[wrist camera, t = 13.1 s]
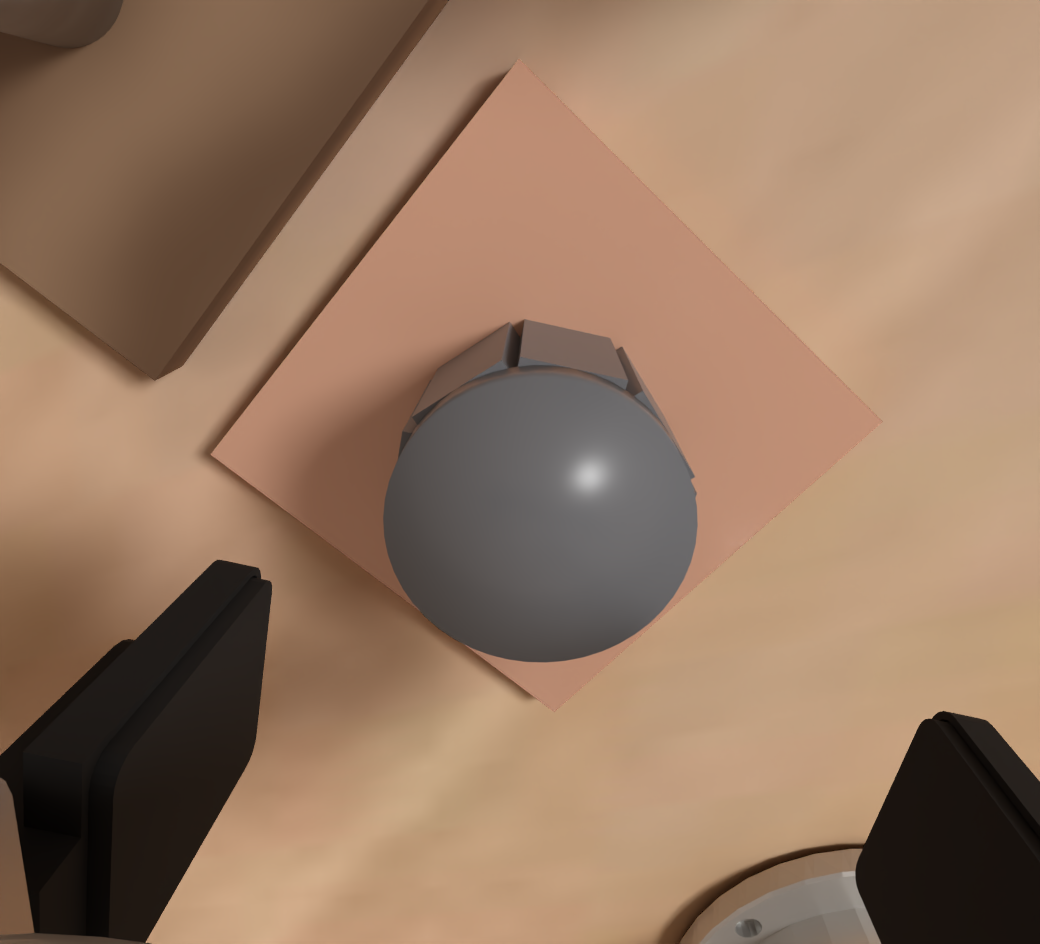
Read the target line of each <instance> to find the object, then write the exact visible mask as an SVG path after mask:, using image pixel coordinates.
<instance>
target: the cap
mask: <svg viewBox="0 0 1040 944" xmlns="http://www.w3.org/2000/svg"><path fill="white" fill-rule="evenodd" d="M694 477H695V475H694V473H693V472H692V470H691V468H690V466H689V464H688V462H687V460H686V458H685V456H684V454H683V452H682V450H681V448H680V446H679V444H678V442H677V440H676V438H675V436H674V434H673V432H672V430H671V428H670V426H669V424H668V422H667V420H666V419H665V417H664V415H663V413H662V412H661V410H660V408H659V407H658V405H657V403H656V402H655V400H654V398H653V397H652V395H651V393H650V392H649V390H648V388H647V387H646V385H645V383H644V382H643V380H642V378H641V377H640V375H639V373H638V372H637V370H636V368H635V367H634V365H633V364H632V362H631V360H630V359H629V357H628V355H627V354H626V352H625V350H624V349H623V347H620V348H619V349H617V350H615V348H614V345H613V343H612V341H611V338H608V337H604V336H599V335H594V334H590V333H585V332H581V331H576V330H572V329H567V328H563V327H558V326H554V325H549V324H544V323H540V322H535V321H531V320H526V319H525V320H524V324H523V329H522V333H521V338H520V337H519V335H518V334H517V332H516V330H515V329H514V327H513V326H512V324H511V323H510V322H509V323H507V324H506V325H504V326H503V327H501V328H499V329H498V330H496V331H495V332H493V333H492V334H490V335H489V336H487V337H486V338H484V339H482V340H481V341H479V342H478V343H476V344H475V345H473V346H472V347H470V348H469V349H467V350H465V351H464V352H462V353H461V354H459V355H458V356H456V357H455V358H453V359H452V360H450V361H448V362H447V363H445V364H444V365H442V366H441V367H439V368H438V369H437V371H436V373H435V375H434V377H433V379H432V380H430V381H429V383H428V385H427V387H426V389H425V391H424V392H423V394H422V396H421V398H420V400H419V402H418V403H417V405H416V407H415V409H414V411H413V413H412V414H411V416H410V418H409V420H408V422H407V424H406V425H405V427H404V429H403V431H402V436H401V442H400V448H399V454H398V461H397V463H396V465H395V467H394V470H393V472H392V475H391V477H390V480H389V484H388V488H387V492H386V496H385V502H384V514H383V525H384V538H385V543H386V548H387V553H388V556H389V559H390V562H391V565H392V568H393V571H394V573H395V575H396V577H397V579H398V581H399V583H400V585H401V586H402V588H403V590H404V591H405V593H406V594H407V596H408V597H409V598H410V600H411V601H412V603H413V604H414V605H415V606H416V607H417V608H418V609H419V611H420V612H421V613H422V614H423V615H424V616H425V617H426V618H427V619H428V620H429V621H431V622H432V623H433V624H434V625H435V626H436V627H438V628H439V629H440V630H441V631H443V632H444V633H446V634H447V635H449V636H450V637H452V638H453V639H455V640H457V641H459V642H461V643H463V644H465V645H467V646H469V647H470V648H473V649H475V650H478V651H481V652H483V653H486V654H489V655H492V656H496V657H500V658H504V659H508V660H516V661H523V662H544V663H546V662H558V661H567V660H572V659H577V658H583V657H586V656H589V655H592V654H596V653H599V652H602V651H604V650H606V649H609V648H611V647H613V646H615V645H618V644H620V643H621V642H623V641H625V640H626V639H628V638H630V637H631V636H633V635H635V634H636V633H637V632H639V631H640V630H641V629H643V628H644V627H645V626H646V625H648V624H649V623H650V622H651V621H652V620H653V619H654V618H655V617H656V616H657V615H658V614H659V613H660V612H661V611H662V610H663V609H664V608H665V607H666V605H667V604H668V603H669V602H670V600H671V599H672V598H673V596H674V595H675V593H676V592H677V590H678V588H679V587H680V585H681V583H682V582H683V580H684V578H685V575H686V573H687V571H688V568H689V566H690V563H691V560H692V556H693V552H694V549H695V545H696V536H697V527H698V521H697V504H696V499H695V498H696V495H697V492H696V490H695V488H694V486H693V484H692V482H691V479H693V478H694Z"/></svg>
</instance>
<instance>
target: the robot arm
mask: <svg viewBox="0 0 1040 944" xmlns="http://www.w3.org/2000/svg"><path fill="white" fill-rule="evenodd" d="M271 595H272V584H271V582H270V581H268V580H263V579H261V573H260V570H259V568H256V567H252V566H247V565H242V564H237V563H233V562H228V561H223V560H216V561H215V562H213V563H212V564H211V565H210V566H209V567H208V568H207V569H206V570H205V571H204V572H203V573H202V574H201V575H200V576H199V577H198V578H197V579H196V580H195V581H194V582H193V583H192V584H191V585H190V586H189V587H188V588H187V589H186V590H185V591H184V592H183V593H182V594H181V595H180V596H179V597H178V598H177V599H176V600H175V601H174V602H173V603H172V604H171V605H170V606H169V607H168V608H167V609H166V610H165V611H164V612H163V613H162V614H161V615H160V616H159V617H158V618H157V619H156V620H155V621H154V622H153V623H152V624H151V625H150V626H149V627H148V628H147V629H146V630H145V631H144V632H143V633H142V634H141V635H140V636H139V637H138V638H137V639H136V640H131V639H128V640H123V641H121V642H120V643H118V644H117V645H115V646H114V647H113V648H112V649H111V650H110V651H109V652H108V653H107V654H106V655H105V656H103V657H102V658H101V659H100V660H99V661H98V662H97V663H96V664H95V665H94V666H93V667H92V668H91V669H90V670H89V671H88V672H87V673H86V674H85V675H84V676H83V677H82V678H81V679H80V680H78V681H77V682H76V683H75V684H74V685H73V686H72V687H71V688H70V689H69V690H68V691H67V692H66V693H65V694H64V695H63V696H62V697H61V698H60V699H59V700H58V701H57V702H56V703H55V704H53V705H52V706H51V707H50V708H49V709H48V710H47V711H46V712H45V713H44V714H43V715H42V716H41V717H40V718H39V719H38V720H37V721H36V722H35V723H34V724H33V725H32V726H31V727H29V728H28V729H27V730H26V731H25V732H24V733H23V734H22V735H21V736H20V737H19V738H18V739H17V740H16V741H15V742H14V743H13V744H12V745H11V746H10V747H9V748H8V749H7V750H6V751H4V752H3V753H2V754H1V755H0V944H150V943H145V942H146V940H147V939H148V937H149V935H150V933H151V932H152V930H153V928H154V926H155V925H156V923H157V921H158V919H159V918H160V916H161V914H162V913H163V911H164V909H165V907H166V906H167V904H168V902H169V900H170V899H171V897H172V895H173V893H174V892H175V890H176V888H177V886H178V885H179V883H180V881H181V879H182V878H183V876H184V874H185V872H186V871H187V869H188V867H189V865H190V864H191V862H192V860H193V859H194V857H195V855H196V853H197V852H198V850H199V848H200V846H201V845H202V843H203V841H204V839H205V838H206V836H207V834H208V832H209V831H210V829H211V827H212V825H213V824H214V822H215V820H216V818H217V817H218V815H219V813H220V811H221V810H222V808H223V806H224V805H225V803H226V801H227V799H228V798H229V796H230V794H231V792H232V791H233V789H234V787H235V785H236V784H237V782H238V780H239V778H240V777H241V775H242V773H243V771H244V770H245V768H246V766H247V764H248V762H249V760H250V757H251V755H252V752H253V749H254V745H255V740H256V734H257V724H258V715H259V706H260V697H261V687H262V678H263V669H264V660H265V650H266V641H267V632H268V623H269V613H270V604H271ZM680 944H1040V781H1039V780H1038V779H1037V778H1036V777H1035V775H1034V774H1033V773H1032V772H1031V771H1030V770H1029V768H1028V767H1027V766H1026V765H1025V764H1024V762H1023V761H1022V760H1021V759H1020V758H1019V757H1018V755H1017V754H1016V753H1015V752H1014V751H1013V749H1012V748H1011V747H1010V746H1009V745H1008V744H1007V742H1006V741H1005V740H1004V739H1003V738H1002V736H1001V735H1000V734H999V733H998V732H997V731H996V729H995V728H994V727H993V726H992V725H991V724H990V723H989V722H988V721H986V720H983V719H979V718H974V717H969V716H965V715H960V714H955V713H950V712H946V711H943V712H938V713H937V714H936V715H935V716H933V718H932V719H925V720H924V721H923V722H922V723H921V724H920V726H919V727H918V729H917V731H916V734H915V736H914V738H913V740H912V742H911V745H910V747H909V749H908V751H907V753H906V755H905V758H904V760H903V762H902V764H901V766H900V769H899V771H898V773H897V775H896V777H895V780H894V782H893V784H892V786H891V788H890V790H889V793H888V795H887V797H886V799H885V801H884V804H883V806H882V808H881V810H880V812H879V814H878V817H877V819H876V821H875V823H874V825H873V828H872V830H871V832H870V834H869V836H868V838H867V841H866V843H865V845H864V847H863V849H845V850H838V851H831V852H824V853H817V854H812V855H808V856H805V857H801V858H798V859H794V860H791V861H788V862H784V863H781V864H778V865H776V866H773V867H771V868H769V869H767V870H764V871H762V872H760V873H758V874H756V875H753V876H751V877H749V878H747V879H745V880H744V881H742V882H741V883H739V884H738V885H736V886H735V887H733V888H732V889H730V890H729V891H727V892H725V893H724V894H722V895H721V896H720V897H719V898H717V899H716V900H715V901H714V902H713V903H712V904H711V905H710V906H709V907H708V908H707V909H706V910H705V911H704V912H702V913H701V914H700V915H699V916H698V917H697V918H696V920H695V921H694V923H693V924H692V925H691V927H690V928H689V930H688V931H687V932H686V934H685V935H684V937H683V938H682V939H681V942H680Z"/></svg>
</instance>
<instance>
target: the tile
mask: <svg viewBox="0 0 1040 944" xmlns="http://www.w3.org/2000/svg"><path fill="white" fill-rule="evenodd" d="M525 319H526V320H531V321H535V322H540V323H544V324H549V325H554V326H558V327H563V328H567V329H572V330H576V331H581V332H585V333H590V334H594V335H599V336H604V337H608V338H611V341H612V343H613V345H614V348H615V350H617V349H619V348H620V347H623V349H624V350H625V352H626V354H627V355H628V357H629V359H630V360H631V362H632V364H633V365H634V367H635V368H636V370H637V372H638V373H639V375H640V377H641V378H642V380H643V382H644V383H645V385H646V387H647V388H648V390H649V392H650V393H651V395H652V397H653V398H654V400H655V402H656V403H657V405H658V407H659V408H660V410H661V412H662V413H663V415H664V417H665V419H666V420H667V422H668V424H669V426H670V428H671V430H672V432H673V434H674V436H675V438H676V440H677V442H678V444H679V446H680V448H681V450H682V452H683V454H684V456H685V458H686V460H687V462H688V464H689V466H690V468H691V470H692V472H693V473H694V475H695V477H694V478H693V479H691V482H692V484H693V486H694V488H695V490H696V492H697V495H696V498H695V499H696V504H697V521H698V527H697V536H696V545H695V549H694V552H693V556H692V560H691V563H690V566H689V568H688V571H687V573H686V575H685V578H684V580H683V582H682V583H681V585H680V587H679V588H678V590H677V592H676V593H675V595H674V596H673V598H672V599H671V600H670V602H669V603H668V604H667V605H666V607H665V608H664V609H663V610H662V611H661V612H660V613H659V614H658V615H657V616H656V617H655V618H654V619H653V620H652V621H651V622H650V623H649V624H648V625H646V626H645V627H644V628H643V629H641V630H640V631H639V632H637V633H636V634H635V635H633V636H631V637H630V638H628V639H626V640H625V641H623V642H621V643H620V644H618V645H615V646H613V647H611V648H609V649H606V650H604V651H602V652H599V653H596V654H592V655H589V656H586V657H583V658H577V659H572V660H567V661H558V662H546V663H544V662H523V661H516V660H508V659H504V658H500V657H496V656H492V655H489V654H486V653H483V652H481V651H478V650H475V649H473V648H470V647H469V646H467V645H466V646H467V647H468V648H470V649H471V650H472V651H474V652H475V653H476V654H478V655H479V656H480V657H482V658H483V659H484V660H486V661H487V662H488V663H490V664H491V665H492V666H494V667H495V668H496V669H498V670H499V671H500V672H502V673H503V674H504V675H506V676H507V677H508V678H510V679H511V680H512V681H514V682H515V683H516V684H518V685H519V686H520V687H522V688H523V689H524V690H526V691H527V692H528V693H530V694H531V695H532V696H534V697H535V698H536V699H538V700H539V701H540V702H542V703H543V704H544V705H546V706H547V707H548V708H550V709H551V710H552V711H554V712H555V711H556V710H557V709H558V708H559V707H561V706H562V705H563V704H564V703H565V702H566V701H567V700H569V699H570V698H571V697H572V696H573V695H574V694H575V693H576V692H578V691H579V690H580V689H581V688H582V687H583V686H584V685H585V684H587V683H588V682H589V681H590V680H591V679H592V678H593V677H595V676H596V675H597V674H598V673H599V672H600V671H601V670H602V669H604V668H605V667H606V666H607V665H608V664H609V663H610V662H611V661H613V660H614V659H615V658H616V657H617V656H618V655H619V654H621V653H622V652H623V651H624V650H625V649H626V648H627V647H628V646H630V645H631V644H632V643H633V642H634V641H635V640H636V639H638V638H639V637H640V636H641V635H642V634H643V633H644V632H645V631H647V630H648V629H649V628H650V627H651V626H652V625H653V624H654V623H656V622H657V621H658V620H659V619H660V618H661V617H662V616H664V615H665V614H666V613H667V612H668V611H669V610H670V609H671V608H673V607H674V606H675V605H676V604H677V603H678V602H679V601H680V600H682V599H683V598H684V597H685V596H686V595H687V594H688V593H690V592H691V591H692V590H693V589H694V588H695V587H696V586H697V585H699V584H700V583H701V582H702V581H703V580H704V579H705V578H707V577H708V576H709V575H710V574H711V573H712V572H713V571H714V570H716V569H717V568H718V567H719V566H720V565H721V564H722V563H723V562H725V561H726V560H727V559H728V558H729V557H730V556H731V555H733V554H734V553H735V552H736V551H737V550H738V549H739V548H740V547H742V546H743V545H744V544H745V543H746V542H747V541H748V540H749V539H751V538H752V537H753V536H754V535H755V534H756V533H757V532H759V531H760V530H761V529H762V528H763V527H764V526H765V525H766V524H768V523H769V522H770V521H771V520H772V519H773V518H774V517H776V516H777V515H778V514H779V513H780V512H781V511H782V510H783V509H785V508H786V507H787V506H788V505H789V504H790V503H791V502H792V501H794V500H795V499H796V498H797V497H798V496H799V495H800V494H802V493H803V492H804V491H805V490H806V489H807V488H808V487H809V486H811V485H812V484H813V483H814V482H815V481H816V480H817V479H818V478H820V477H821V476H822V475H823V474H824V473H825V472H826V471H828V470H829V469H830V468H831V467H832V466H833V465H834V464H835V463H837V462H838V461H839V460H840V459H841V458H842V457H843V456H845V455H846V454H847V453H848V452H849V451H850V450H851V449H852V448H854V447H855V446H856V445H857V444H858V443H859V442H860V441H861V440H863V439H864V438H865V437H866V436H867V435H868V434H869V433H871V432H872V431H873V430H874V429H875V428H876V427H877V426H878V425H880V424H881V423H882V422H883V421H882V420H881V419H880V418H879V417H878V416H877V415H876V414H875V413H874V412H873V411H872V410H871V409H870V408H869V407H868V406H867V405H866V404H865V403H864V402H863V401H862V400H861V399H860V398H859V397H858V396H857V395H856V394H855V393H854V392H853V391H852V390H851V389H850V388H849V387H848V386H847V385H846V384H845V383H844V382H843V381H842V380H841V379H840V378H839V377H838V376H837V375H836V374H835V373H833V372H832V371H831V370H830V369H829V368H828V367H827V366H826V365H825V364H824V363H823V362H822V361H821V360H820V359H819V358H818V357H817V356H816V355H815V354H814V353H813V352H812V351H811V350H810V349H809V348H808V347H807V346H806V345H805V344H804V343H803V342H802V341H801V340H800V339H799V338H798V337H797V336H796V335H795V334H794V333H793V332H792V331H791V330H790V329H789V328H788V327H787V326H786V325H785V324H784V323H783V322H782V321H781V320H780V319H779V318H778V317H777V316H776V315H775V314H774V313H773V312H772V311H771V310H770V309H769V308H768V307H767V306H766V305H765V304H764V303H763V302H762V301H761V300H760V299H759V298H758V297H757V296H756V295H755V294H754V293H753V292H752V291H751V290H750V289H749V288H748V287H747V286H746V285H745V284H744V283H743V282H742V281H741V280H740V279H739V278H738V277H737V276H736V275H735V274H734V273H733V272H732V271H731V270H730V269H729V268H728V267H727V266H726V265H725V264H724V263H723V262H722V261H721V260H720V259H719V258H718V257H717V256H716V255H715V254H714V253H713V252H712V251H711V250H710V249H709V248H708V247H707V246H706V245H705V244H704V243H703V242H702V241H701V240H700V239H699V238H698V237H697V236H696V235H695V234H694V233H693V232H692V231H691V230H690V229H689V228H688V227H687V226H686V225H685V224H684V223H683V222H682V221H681V220H680V219H679V218H678V217H677V216H676V215H675V214H674V213H673V212H672V211H671V210H670V209H669V208H668V207H667V206H666V205H665V204H664V203H663V202H662V201H661V200H660V199H659V198H658V197H657V196H656V195H655V194H654V193H653V192H652V191H651V190H650V189H649V188H648V187H647V186H646V185H645V184H644V183H643V182H642V181H641V180H640V179H639V178H638V177H637V176H636V175H635V174H634V173H633V172H632V171H631V170H630V169H629V168H628V167H627V166H626V165H625V164H624V163H623V162H622V161H621V160H620V159H619V158H618V157H617V156H616V155H615V154H614V153H613V152H612V151H611V150H610V149H609V148H608V147H607V146H606V145H605V144H604V143H603V142H602V141H601V140H600V139H599V138H598V137H597V136H596V135H595V134H594V133H593V132H592V131H591V130H590V129H589V128H588V127H587V126H586V125H585V124H584V123H583V122H582V121H581V120H580V119H579V118H578V117H577V116H576V115H575V114H574V113H573V112H572V111H571V110H570V109H569V108H568V107H567V106H566V105H565V104H564V103H563V102H562V101H561V100H560V99H559V98H558V97H557V96H556V95H555V94H554V93H553V92H552V91H551V90H550V89H549V88H548V87H547V86H546V85H545V84H544V83H543V82H542V81H541V80H540V79H539V78H538V77H537V76H536V75H535V74H534V73H533V72H532V71H531V70H530V69H529V68H528V67H527V66H526V65H525V64H524V63H523V62H522V61H521V60H520V59H518V60H517V62H516V63H515V64H514V66H513V67H512V68H511V69H510V71H509V72H508V73H507V75H506V76H505V77H504V78H503V80H502V81H501V82H500V84H499V85H498V86H497V87H496V89H495V90H494V91H493V93H492V94H491V95H490V96H489V98H488V99H487V100H486V102H485V103H484V104H483V105H482V107H481V108H480V109H479V111H478V112H477V113H476V114H475V116H474V117H473V118H472V120H471V121H470V122H469V123H468V125H467V126H466V127H465V128H464V130H463V131H462V132H461V134H460V135H459V136H458V137H457V139H456V140H455V141H454V143H453V144H452V145H451V146H450V148H449V149H448V150H447V152H446V153H445V154H444V155H443V157H442V158H441V159H440V161H439V162H438V163H437V164H436V166H435V167H434V168H433V170H432V171H431V172H430V173H429V175H428V176H427V177H426V179H425V180H424V181H423V182H422V184H421V185H420V186H419V188H418V189H417V190H416V191H415V193H414V194H413V195H412V196H411V198H410V199H409V200H408V202H407V203H406V204H405V205H404V207H403V208H402V209H401V211H400V212H399V213H398V214H397V216H396V217H395V218H394V220H393V221H392V222H391V223H390V225H389V226H388V227H387V229H386V230H385V231H384V232H383V234H382V235H381V236H380V238H379V239H378V240H377V241H376V243H375V244H374V245H373V247H372V248H371V249H370V250H369V252H368V253H367V254H366V256H365V257H364V258H363V259H362V261H361V262H360V263H359V264H358V266H357V267H356V268H355V270H354V271H353V272H352V273H351V275H350V276H349V277H348V279H347V280H346V281H345V282H344V284H343V285H342V286H341V288H340V289H339V290H338V291H337V293H336V294H335V295H334V297H333V298H332V299H331V300H330V302H329V303H328V304H327V306H326V307H325V308H324V309H323V311H322V312H321V313H320V315H319V316H318V317H317V318H316V320H315V321H314V322H313V324H312V325H311V326H310V327H309V329H308V330H307V331H306V332H305V334H304V335H303V336H302V338H301V339H300V340H299V341H298V343H297V344H296V345H295V347H294V348H293V349H292V350H291V352H290V353H289V354H288V356H287V357H286V358H285V359H284V361H283V362H282V363H281V365H280V366H279V367H278V368H277V370H276V371H275V372H274V374H273V375H272V376H271V377H270V379H269V380H268V381H267V383H266V384H265V385H264V386H263V388H262V389H261V390H260V392H259V393H258V394H257V395H256V397H255V398H254V399H253V400H252V402H251V403H250V404H249V406H248V407H247V408H246V409H245V411H244V412H243V413H242V415H241V416H240V417H239V418H238V420H237V421H236V422H235V424H234V425H233V426H232V427H231V429H230V430H229V431H228V433H227V434H226V435H225V436H224V438H223V439H222V440H221V442H220V443H219V444H218V445H217V447H216V448H215V449H214V451H213V452H212V453H211V454H210V455H212V456H213V457H214V458H216V459H217V460H218V461H220V462H221V463H222V464H224V465H225V466H227V467H228V468H229V469H231V470H232V471H233V472H235V473H236V474H237V475H239V476H240V477H241V478H243V479H244V480H245V481H247V482H248V483H249V484H251V485H252V486H253V487H255V488H256V489H257V490H259V491H260V492H261V493H263V494H264V495H265V496H267V497H268V498H269V499H271V500H272V501H273V502H275V503H276V504H277V505H279V506H280V507H281V508H283V509H284V510H285V511H287V512H288V513H289V514H291V515H292V516H293V517H295V518H296V519H297V520H299V521H300V522H301V523H303V524H304V525H305V526H307V527H308V528H309V529H311V530H312V531H313V532H315V533H316V534H317V535H319V536H320V537H321V538H323V539H324V540H325V541H327V542H328V543H329V544H331V545H332V546H333V547H335V548H336V549H337V550H339V551H340V552H341V553H343V554H344V555H345V556H347V557H348V558H349V559H351V560H352V561H353V562H355V563H356V564H357V565H359V566H360V567H361V568H363V569H364V570H365V571H367V572H368V573H369V574H371V575H372V576H373V577H375V578H376V579H377V580H379V581H380V582H381V583H383V584H384V585H385V586H387V587H388V588H389V589H391V590H392V591H393V592H395V593H396V594H397V595H399V596H400V597H401V598H403V599H404V600H405V601H407V602H408V603H409V604H411V605H412V606H413V607H415V608H416V609H417V610H419V609H418V608H417V607H416V606H415V605H414V604H413V603H412V601H411V600H410V598H409V597H408V596H407V594H406V593H405V591H404V590H403V588H402V586H401V585H400V583H399V581H398V579H397V577H396V575H395V573H394V571H393V568H392V565H391V562H390V559H389V556H388V553H387V548H386V543H385V538H384V525H383V514H384V502H385V496H386V492H387V488H388V484H389V480H390V477H391V475H392V472H393V470H394V467H395V465H396V463H397V461H398V454H399V448H400V442H401V436H402V431H403V429H404V427H405V425H406V424H407V422H408V420H409V418H410V416H411V414H412V413H413V411H414V409H415V407H416V405H417V403H418V402H419V400H420V398H421V396H422V394H423V392H424V391H425V389H426V387H427V385H428V383H429V381H430V380H432V379H433V377H434V375H435V373H436V371H437V369H438V368H439V367H441V366H442V365H444V364H445V363H447V362H448V361H450V360H452V359H453V358H455V357H456V356H458V355H459V354H461V353H462V352H464V351H465V350H467V349H469V348H470V347H472V346H473V345H475V344H476V343H478V342H479V341H481V340H482V339H484V338H486V337H487V336H489V335H490V334H492V333H493V332H495V331H496V330H498V329H499V328H501V327H503V326H504V325H506V324H507V323H509V322H510V323H511V324H512V326H513V327H514V329H515V330H516V332H517V334H518V335H519V337H520V338H521V333H522V329H523V324H524V320H525ZM464 645H465V644H464Z"/></svg>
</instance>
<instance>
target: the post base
mask: <svg viewBox="0 0 1040 944" xmlns="http://www.w3.org/2000/svg"><path fill="white" fill-rule="evenodd" d="M448 1H449V0H0V263H1V264H2V265H3V266H5V267H6V268H7V269H9V270H10V271H11V272H13V273H14V274H15V275H17V276H18V277H19V278H21V279H22V280H23V281H24V282H26V283H27V284H28V285H30V286H31V287H32V288H34V289H35V290H36V291H38V292H39V293H40V294H42V295H43V296H44V297H45V298H47V299H48V300H49V301H51V302H52V303H53V304H55V305H56V306H57V307H59V308H60V309H61V310H63V311H64V312H65V313H67V314H68V315H69V316H70V317H72V318H73V319H74V320H76V321H77V322H78V323H80V324H81V325H82V326H84V327H85V328H86V329H88V330H89V331H90V332H92V333H93V334H94V335H95V336H97V337H98V338H99V339H101V340H102V341H103V342H105V343H106V344H107V345H109V346H110V347H111V348H113V349H114V350H115V351H117V352H118V353H119V354H120V355H122V356H123V357H124V358H126V359H127V360H128V361H130V362H131V363H132V364H134V365H135V366H136V367H138V368H139V369H140V370H142V371H143V372H144V373H145V374H147V375H148V376H149V377H151V378H152V379H153V380H157V379H159V378H161V377H163V376H165V375H166V374H168V373H170V372H172V371H174V370H176V369H178V368H180V367H182V366H183V365H184V363H185V362H186V360H187V359H188V358H189V356H190V355H191V354H192V352H193V351H194V349H195V348H196V347H197V345H198V344H199V343H200V341H201V340H202V338H203V337H204V336H205V334H206V333H207V332H208V330H209V329H210V327H211V326H212V325H213V323H214V322H215V321H216V319H217V318H218V316H219V315H220V314H221V312H222V311H223V310H224V308H225V307H226V306H227V304H228V303H229V301H230V300H231V299H232V297H233V296H234V295H235V293H236V292H237V290H238V289H239V288H240V286H241V285H242V284H243V282H244V281H245V279H246V278H247V277H248V275H249V274H250V273H251V271H252V270H253V268H254V267H255V266H256V264H257V263H258V262H259V260H260V259H261V257H262V256H263V255H264V253H265V252H266V251H267V249H268V248H269V246H270V245H271V244H272V242H273V241H274V240H275V238H276V237H277V235H278V234H279V233H280V231H281V230H282V229H283V227H284V226H285V224H286V223H287V222H288V220H289V219H290V218H291V216H292V215H293V214H294V212H295V211H296V209H297V208H298V207H299V205H300V204H301V203H302V201H303V200H304V198H305V197H306V196H307V194H308V193H309V192H310V190H311V189H312V187H313V186H314V185H315V183H316V182H317V181H318V179H319V178H320V176H321V175H322V174H323V172H324V171H325V170H326V168H327V167H328V165H329V164H330V163H331V161H332V160H333V159H334V157H335V156H336V154H337V153H338V152H339V150H340V149H341V148H342V146H343V145H344V143H345V142H346V141H347V139H348V138H349V137H350V135H351V134H352V132H353V131H354V130H355V128H356V127H357V126H358V124H359V123H360V122H361V120H362V119H363V117H364V116H365V115H366V113H367V112H368V111H369V109H370V108H371V106H372V105H373V104H374V102H375V101H376V100H377V98H378V97H379V95H380V94H381V93H382V91H383V90H384V89H385V87H386V86H387V84H388V83H389V82H390V80H391V79H392V78H393V76H394V75H395V73H396V72H397V71H398V69H399V68H400V67H401V65H402V64H403V62H404V61H405V60H406V58H407V57H408V56H409V54H410V53H411V51H412V50H413V49H414V47H415V46H416V45H417V43H418V42H419V40H420V39H421V38H422V36H423V35H424V34H425V32H426V31H427V30H428V28H429V27H430V25H431V24H432V23H433V21H434V20H435V19H436V17H437V16H438V14H439V13H440V12H441V10H442V9H443V8H444V6H445V5H446V3H447V2H448Z"/></svg>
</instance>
